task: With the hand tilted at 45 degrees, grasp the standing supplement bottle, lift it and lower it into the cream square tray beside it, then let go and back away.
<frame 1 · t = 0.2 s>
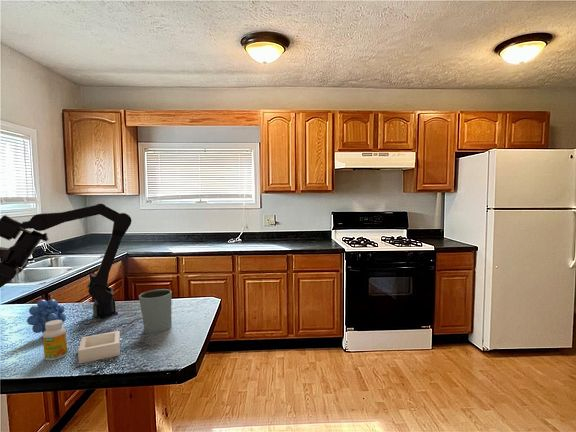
cream square tray: (100, 351, 97), on the kitchen counter
grey green cup: (157, 329, 114), on the kitchen counter
grapes: (50, 335, 111), on the kitchen counter
supplement bottle: (56, 356, 96), on the kitchen counter
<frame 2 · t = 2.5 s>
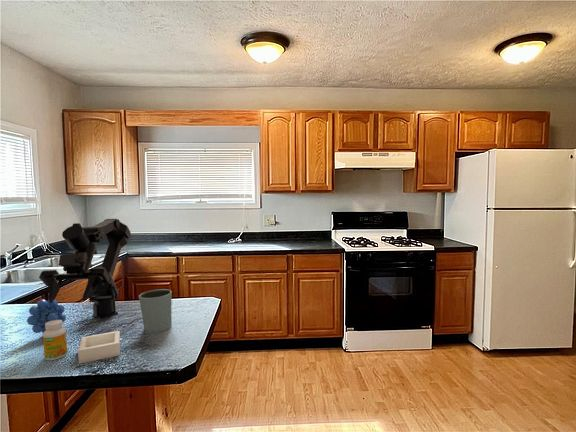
hand: (67, 301, 102), 13 cm above the kitchen counter, tool tilted 45°, fingers open, 9 cm apart
nothing on the kitchen counter moved.
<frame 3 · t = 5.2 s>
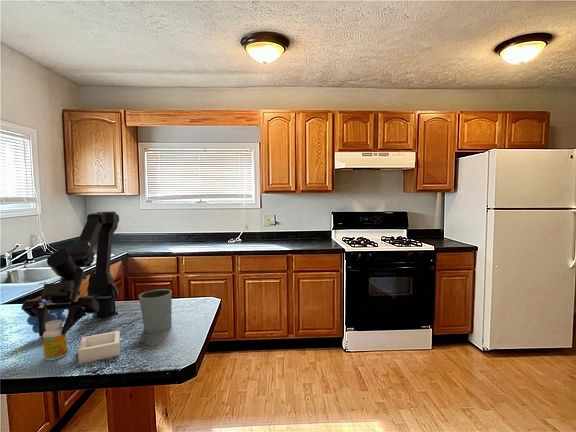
hand: (51, 335, 94), 7 cm above the kitchen counter, tool tilted 45°, fingers closed on supplement bottle, 5 cm apart
supplement bottle: (56, 356, 96), on the kitchen counter, touching gripper
everything else where it was.
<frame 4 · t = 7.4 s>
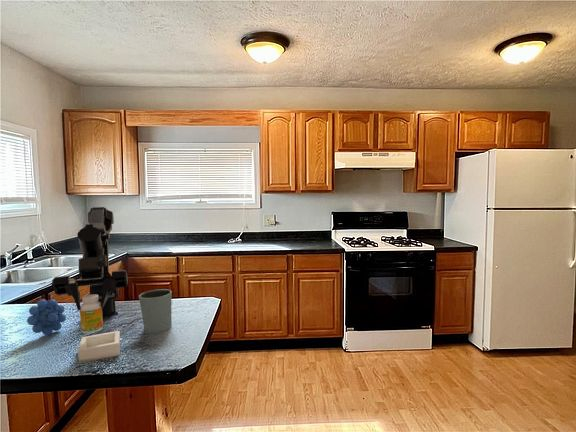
hand: (90, 308, 95), 13 cm above the kitchen counter, tool tilted 45°, fingers closed on supplement bottle, 5 cm apart
supplement bottle: (92, 330, 97), point 6 cm above the kitchen counter, touching gripper
everything else where it was.
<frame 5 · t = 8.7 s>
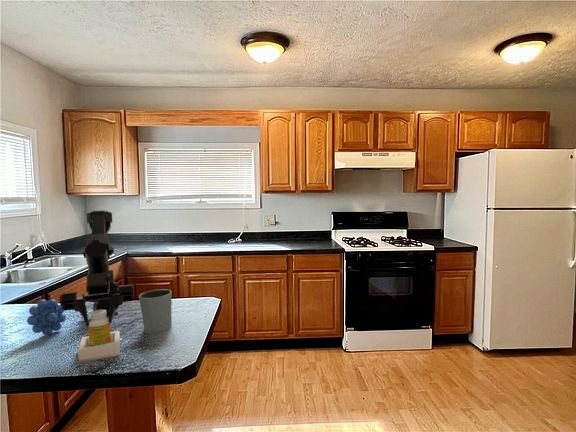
hand: (98, 323, 96), 9 cm above the kitchen counter, tool tilted 45°, fingers closed on supplement bottle, 5 cm apart
supplement bottle: (100, 345, 98), point 2 cm above the kitchen counter, touching gripper
everything else where it was.
when the fingers open (8 cm above the kitchen counter, at t = 9.6 s): supplement bottle stays where it is, resting on cream square tray.
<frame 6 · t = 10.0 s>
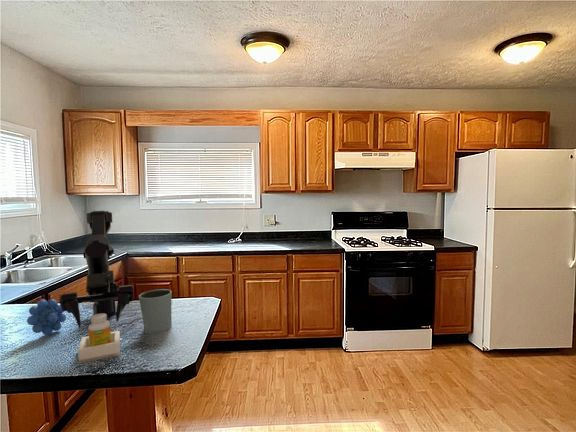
hand: (98, 324, 96), 9 cm above the kitchen counter, tool tilted 45°, fingers open, 9 cm apart
supplement bottle: (100, 349, 98), point 1 cm above the kitchen counter, touching cream square tray
everything else where it was.
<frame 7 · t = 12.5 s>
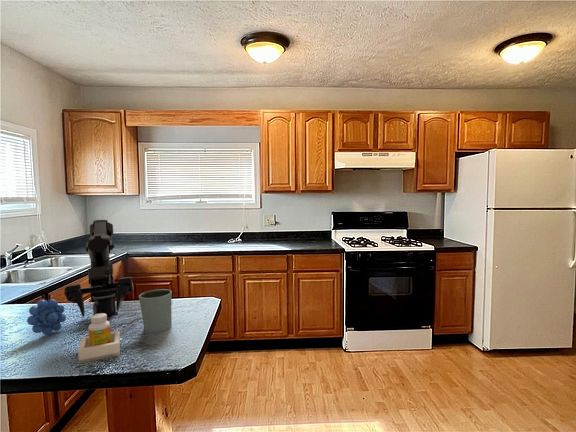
hand: (100, 313, 104), 9 cm above the kitchen counter, tool tilted 45°, fingers open, 9 cm apart
nothing on the kitchen counter moved.
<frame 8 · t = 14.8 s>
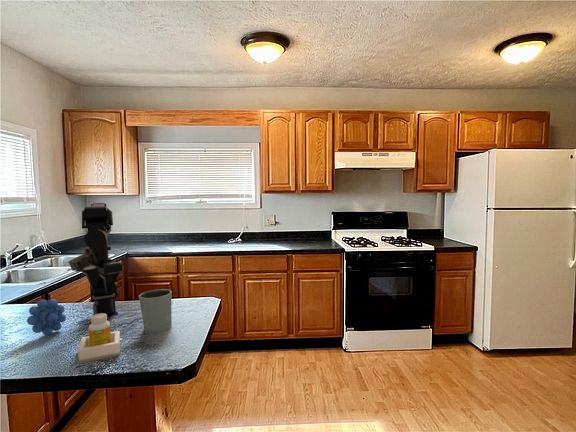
hand: (100, 291, 113), 13 cm above the kitchen counter, tool pointing down, fingers open, 9 cm apart
nothing on the kitchen counter moved.
at the end: supplement bottle 0.1 cm off-centre on the cream square tray, point 0.6 cm above the cream square tray's base; supplement bottle tilted 0°; the gripper is holding nothing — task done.
